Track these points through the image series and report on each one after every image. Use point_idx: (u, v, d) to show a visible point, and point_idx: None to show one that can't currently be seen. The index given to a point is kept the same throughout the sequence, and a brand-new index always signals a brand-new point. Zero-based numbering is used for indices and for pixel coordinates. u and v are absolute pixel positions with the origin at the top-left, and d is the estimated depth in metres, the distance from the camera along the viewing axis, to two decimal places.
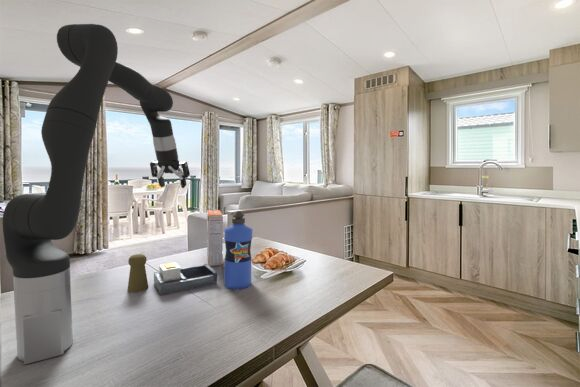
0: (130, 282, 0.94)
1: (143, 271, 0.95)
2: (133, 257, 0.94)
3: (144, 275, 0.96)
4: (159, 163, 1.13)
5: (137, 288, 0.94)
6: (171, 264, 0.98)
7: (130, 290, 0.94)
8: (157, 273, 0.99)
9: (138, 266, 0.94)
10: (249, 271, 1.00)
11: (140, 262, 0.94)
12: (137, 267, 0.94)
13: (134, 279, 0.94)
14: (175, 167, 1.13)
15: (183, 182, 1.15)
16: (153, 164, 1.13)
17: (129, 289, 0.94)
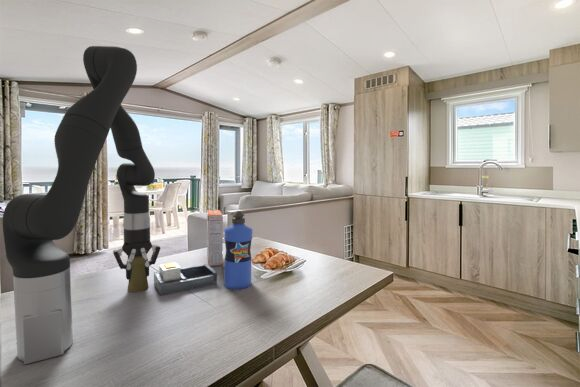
0: (130, 282, 0.94)
1: (143, 271, 0.95)
2: None
3: (144, 275, 0.96)
4: (126, 247, 0.92)
5: (137, 288, 0.94)
6: (171, 264, 0.98)
7: (130, 290, 0.94)
8: (157, 273, 0.99)
9: (138, 266, 0.94)
10: (249, 271, 1.00)
11: (140, 262, 0.94)
12: (137, 266, 0.94)
13: (134, 279, 0.94)
14: (147, 251, 0.96)
15: (147, 270, 0.97)
16: (118, 253, 0.92)
17: (129, 289, 0.94)
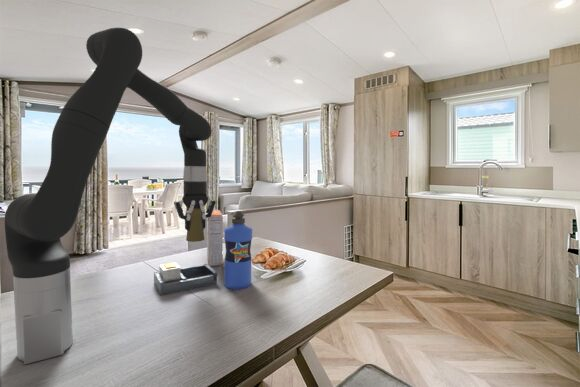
0: (189, 232, 0.99)
1: (201, 222, 1.01)
2: None
3: (201, 226, 1.01)
4: (186, 198, 0.98)
5: (196, 237, 0.99)
6: (171, 264, 0.98)
7: (189, 240, 0.99)
8: (157, 273, 0.99)
9: (196, 217, 0.99)
10: (249, 271, 1.00)
11: (198, 213, 0.99)
12: (196, 218, 0.99)
13: (193, 229, 0.99)
14: (204, 204, 1.01)
15: (204, 223, 1.02)
16: None
17: (188, 239, 0.99)
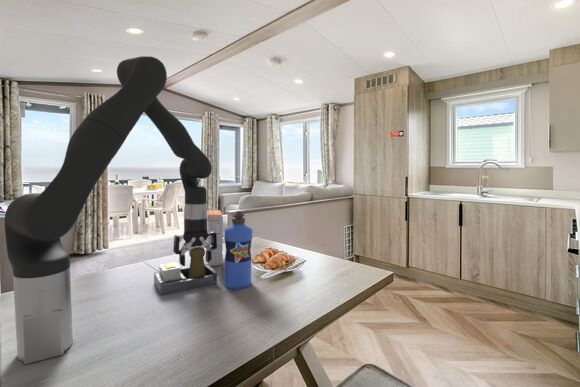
0: (191, 272, 1.01)
1: (202, 263, 1.02)
2: (194, 249, 1.01)
3: (203, 266, 1.02)
4: (187, 236, 0.99)
5: None
6: (171, 264, 0.98)
7: None
8: (157, 273, 0.99)
9: (198, 258, 1.01)
10: (249, 271, 1.00)
11: (200, 254, 1.00)
12: (197, 258, 1.01)
13: (195, 270, 1.00)
14: (205, 238, 1.02)
15: (210, 255, 1.04)
16: None
17: None
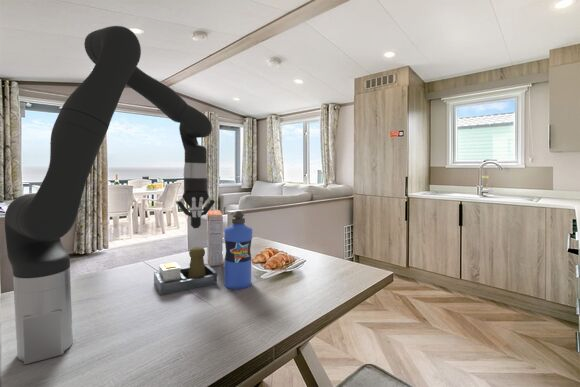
0: (191, 273, 1.01)
1: (202, 263, 1.02)
2: (194, 249, 1.01)
3: (203, 266, 1.02)
4: (186, 195, 0.98)
5: None
6: (171, 264, 0.98)
7: None
8: (157, 273, 0.99)
9: (198, 258, 1.01)
10: (249, 271, 1.00)
11: (200, 254, 1.00)
12: (197, 258, 1.01)
13: (195, 270, 1.00)
14: (203, 202, 1.01)
15: (199, 220, 1.01)
16: (181, 202, 0.97)
17: None
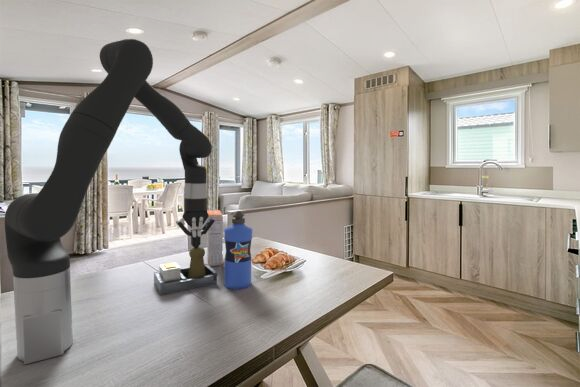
0: (191, 273, 1.01)
1: (202, 263, 1.02)
2: (194, 249, 1.01)
3: (203, 266, 1.02)
4: (186, 216, 0.98)
5: None
6: (171, 264, 0.98)
7: None
8: (157, 273, 0.99)
9: (198, 258, 1.01)
10: (249, 271, 1.00)
11: (200, 254, 1.00)
12: (197, 258, 1.01)
13: (195, 270, 1.00)
14: (203, 221, 1.02)
15: (199, 240, 1.02)
16: (181, 222, 0.98)
17: None
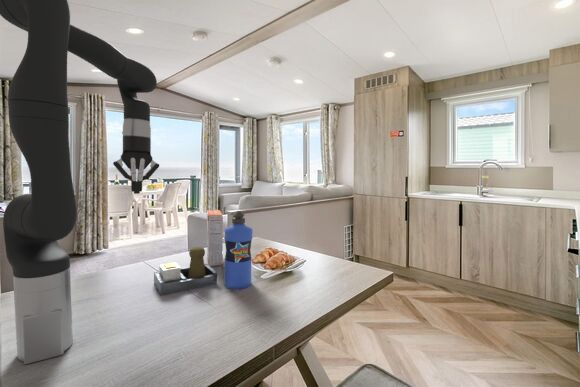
0: (191, 273, 1.01)
1: (202, 263, 1.02)
2: (194, 249, 1.01)
3: (203, 266, 1.02)
4: (124, 155, 0.87)
5: None
6: (171, 264, 0.98)
7: None
8: (157, 273, 0.99)
9: (198, 258, 1.01)
10: (249, 271, 1.00)
11: (200, 254, 1.00)
12: (197, 258, 1.01)
13: (195, 270, 1.00)
14: (145, 165, 0.91)
15: (140, 185, 0.91)
16: (118, 163, 0.87)
17: None
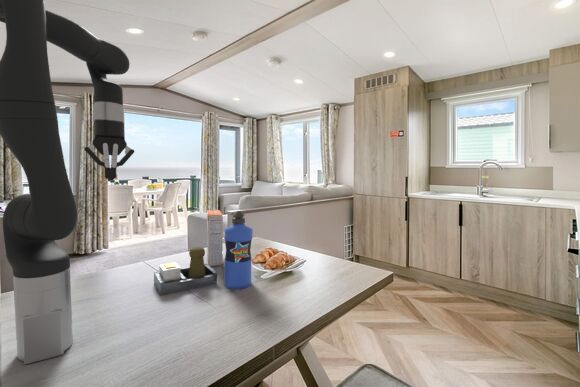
0: (191, 273, 1.01)
1: (202, 263, 1.02)
2: (194, 249, 1.01)
3: (203, 266, 1.02)
4: (96, 141, 0.83)
5: None
6: (171, 264, 0.98)
7: None
8: (157, 273, 0.99)
9: (198, 258, 1.01)
10: (249, 271, 1.00)
11: (200, 254, 1.00)
12: (197, 258, 1.01)
13: (195, 270, 1.00)
14: (119, 151, 0.87)
15: (114, 172, 0.87)
16: (89, 148, 0.83)
17: None
